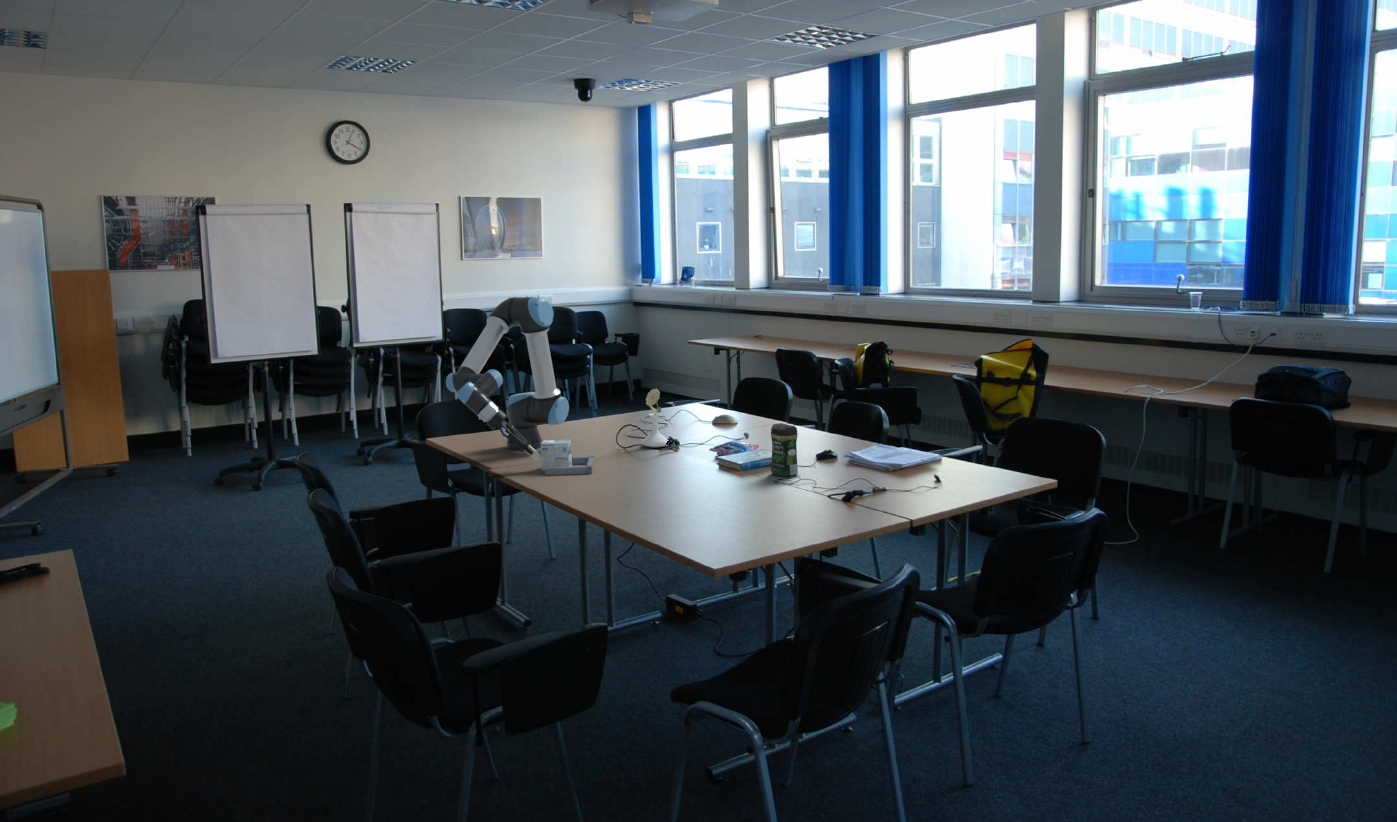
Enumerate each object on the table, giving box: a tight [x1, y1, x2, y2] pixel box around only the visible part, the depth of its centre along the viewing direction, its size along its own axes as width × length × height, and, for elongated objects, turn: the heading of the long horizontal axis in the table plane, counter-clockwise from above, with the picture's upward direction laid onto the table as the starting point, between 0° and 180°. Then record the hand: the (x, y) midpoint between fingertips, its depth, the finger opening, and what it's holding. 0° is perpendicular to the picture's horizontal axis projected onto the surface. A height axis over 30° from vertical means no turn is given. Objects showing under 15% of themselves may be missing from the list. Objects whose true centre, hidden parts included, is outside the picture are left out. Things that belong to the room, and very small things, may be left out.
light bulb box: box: [540, 439, 573, 472], centre depth 368 cm, size 11×7×11 cm, turn 89°
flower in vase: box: [641, 388, 669, 448], centre depth 405 cm, size 13×11×25 cm
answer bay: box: [544, 455, 596, 476], centre depth 368 cm, size 20×17×2 cm
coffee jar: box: [770, 422, 799, 478], centre depth 349 cm, size 10×8×19 cm
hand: (539, 459), depth 366 cm, fingers closed
